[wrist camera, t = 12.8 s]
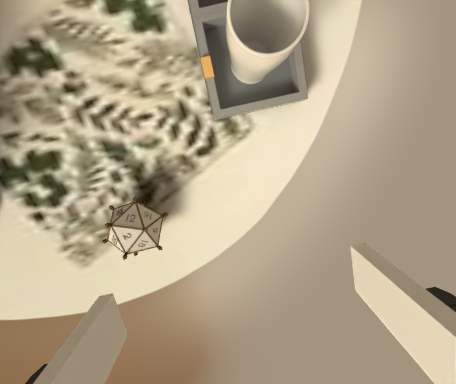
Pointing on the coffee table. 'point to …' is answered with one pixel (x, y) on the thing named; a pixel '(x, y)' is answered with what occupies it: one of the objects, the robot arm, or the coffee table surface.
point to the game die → (134, 228)
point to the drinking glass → (263, 34)
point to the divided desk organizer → (223, 76)
